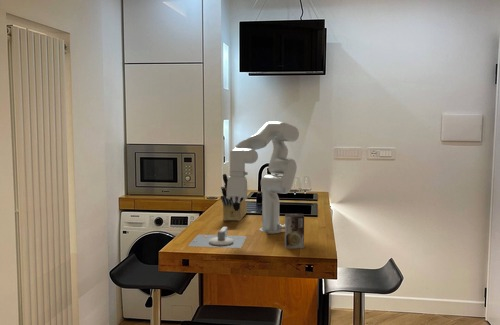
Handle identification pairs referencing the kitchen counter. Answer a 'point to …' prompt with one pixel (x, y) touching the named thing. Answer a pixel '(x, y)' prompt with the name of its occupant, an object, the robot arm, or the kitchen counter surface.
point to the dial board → (204, 242)
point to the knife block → (231, 205)
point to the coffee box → (294, 230)
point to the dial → (221, 238)
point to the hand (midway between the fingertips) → (236, 210)
